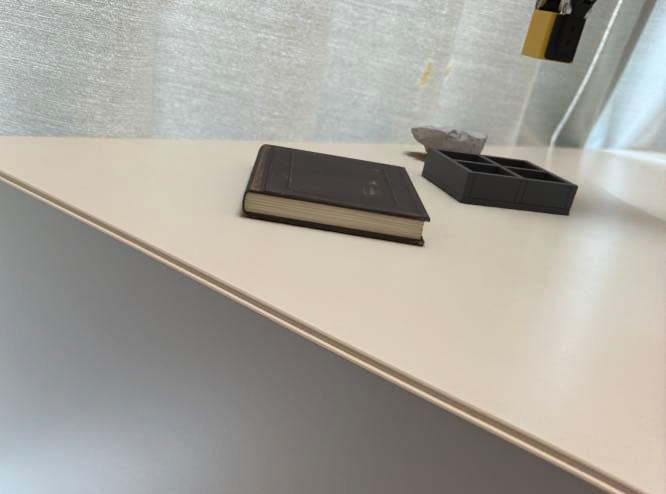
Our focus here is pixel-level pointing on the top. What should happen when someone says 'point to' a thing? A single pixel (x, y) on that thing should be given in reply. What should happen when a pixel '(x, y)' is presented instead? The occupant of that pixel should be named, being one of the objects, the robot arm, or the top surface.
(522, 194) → the divided tray
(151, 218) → the top surface
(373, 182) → the hardcover book
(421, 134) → the fossil
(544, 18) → the block
